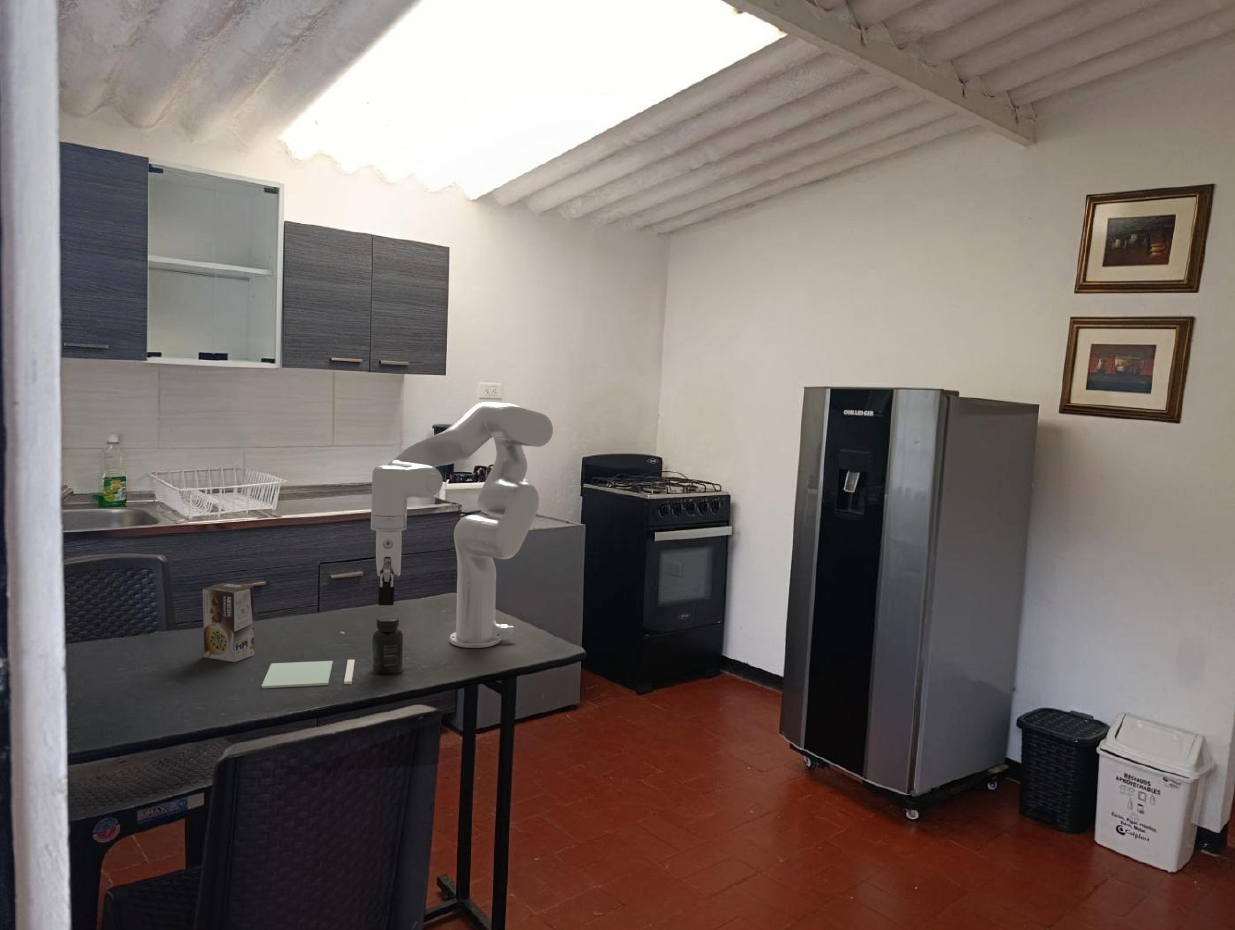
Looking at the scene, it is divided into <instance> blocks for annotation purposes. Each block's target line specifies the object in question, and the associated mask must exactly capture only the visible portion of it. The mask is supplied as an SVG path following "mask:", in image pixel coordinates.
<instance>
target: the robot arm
mask: <svg viewBox="0 0 1235 930" xmlns="http://www.w3.org/2000/svg"><path fill="white" fill-rule="evenodd" d="M553 430H554V428H553V424H552V421H551V420H550V418H549V417H548V416H547V415H546V414H545V413H543V412H539V411H536V410H533V409H530V408H527V407H526V408H525V407H522V406H519V405H517V404H513V403H508V402H507V403H506V402H505V403H503V402H492V401H485V402H484V401H483V402H479V403H476V404H475V405H473V406H472V407H471V408H470V409H469V410H467V411H466V412H465V413H464V414H463V415H461V416H460V417H459V418H458V419H457V420H456V421H454V422H453V423H452V424H451V425H450V426H449V427H447V428H446V429H445V430H444V431H441V432H439V433H436V434H434V435H431V436H429V437H427V438H425V439H423V440H420V441H419V442H416V443H414V444H411V445H410V446H408V447H407V448H405V449H403V450H402V451H400V453H399V454H398V455H396V456H395V457H394V458H393V459H392V460H391V461H389V463H388V464H383V465H378V466H375V467H374V468H373V470H372V475H371V477H372V478H371V502H370V503H371V504H370V506H371V510H370V511H371V514H370V530H372V531H375V532H376V533H375V536H376V537H375V563H376V573H377V574H376V575H377V576H379V586H378V598H377V599H378V602H377V603H378V606H381V607H382V606H394V603H395V575H396V576H397V577H399V576H401V571H402V570H401V569H402V566H401V565H402V541H403V540H402V532H403V531H406V530H407V523H408V522H407V521H408V520H407V516H408V515H407V514H408V498H417V499H418V498H419V499H428V498H432V497H435V496H436V495H437V494H438V493H439V492H440V491H441V489H442V487H443V483H444V481H443V476H442V474H441V472H440V470H438V468H437V467H440V466H448V465H452V464H456V463H460V462H464V461H466V460H468V459H469V458H471V456H473V454H474V453H476V452H477V451H479V449H481V447H482V446H484V444H486V443H487V442H488V441H489V440H490V439H493V440H494V443H495V444H494V445H495V449H496V450H495V451H496V455H495V460H494V463H493V465H492V468H491V469H490V472H489V473H488V475H487V477H486V480H485V481H484V484H483V485H482V487H481V489H480V492H479V493H478V497H477V506H478V508H479V509H480V511H481V512H482V513H485V514H487V515H480V514H469V515H465V516H464V517H462V518H460V520H458V522H457V523H456V525H455V527H454V530H453V541H454V547H455V553H456V560H457V561H456V563H457V566H456V568H457V570H456V571H457V581H456V582H457V583H456V621H455V622H456V623H455V625H456V627H455V632H453V633H451V634H450V635H449V642H450V644H452V645H454V646H457V647H460V648H467V649H469V648H470V649H482V648H489V647H492V646H495V645H497V644H499V643H500V642H501V641H502V639H501V638H502V637H501V635H502V634H506V635H511V634H514V632H515V630H514V629H515V628H514V625H508V624H503V623H502V624H499V623H497V621H496V592H497V588H496V587H497V568H496V564H495V561H494V559H500V560H508V559H509V560H510V559H512V558H513V557H514V556H516V554H517V553H518V552H519V550H520V549H521V547H522V545H523V543H524V541H525V539H526V537H527V535H528V532H529V530H530V528H531V526H532V524H533V522H534V520H535V517H536V515H537V513H538V509H539V504H540V497H539V491H538V490H537V489H536V487H535V486H534V485H533V484H531V483H529V482H527V481H524V479H525V477H526V474H527V472H528V462H527V457H526V454H525V452H524V449H523V446H524V447H525V446H526V447H535V448H537V447H538V448H540V447H543V446H545V445H547V444H548V443H550V441H551V439H552V436H553V433H554V431H553ZM489 515H490V516H489Z"/></svg>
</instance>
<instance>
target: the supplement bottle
mask: <svg viewBox="0 0 1235 930" xmlns="http://www.w3.org/2000/svg"><path fill="white" fill-rule="evenodd" d="M375 622H376V623H375V627H376V629H375V630H374V631H373V632H372V634H371V671H372V673H373V674H375V675H377V676H384V677H385V676H388V677H389V676H394V675H398V674H400V673H401V672H402V671H403V670H404V647H405V646H404V645H405V644H404V639H405V638H404V632H403V630H402V629H400V618H399V617H398V616H395V615H384V616H383V615H382V616H379V617H377V618H376V621H375Z"/></svg>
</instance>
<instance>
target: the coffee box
mask: <svg viewBox="0 0 1235 930" xmlns="http://www.w3.org/2000/svg"><path fill="white" fill-rule="evenodd" d="M254 590H255V586H252V585H244V584H236V583H227V582H221V583H217V584H213V585H211V586H209V587H205V588H202V608H203V609H202V614H203V653H204V655H203V656H204V658H206V659H207V658H208V659H213V660H214V659H215V660H219V661H225V662H231V663H237V662H239V661H242V660H244V659H246V658H250V657H253V656H254V655H255V607H254V606H255V601H254V600H255V599H254V598H255V596H254V595H255V593H254V592H255V591H254Z"/></svg>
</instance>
